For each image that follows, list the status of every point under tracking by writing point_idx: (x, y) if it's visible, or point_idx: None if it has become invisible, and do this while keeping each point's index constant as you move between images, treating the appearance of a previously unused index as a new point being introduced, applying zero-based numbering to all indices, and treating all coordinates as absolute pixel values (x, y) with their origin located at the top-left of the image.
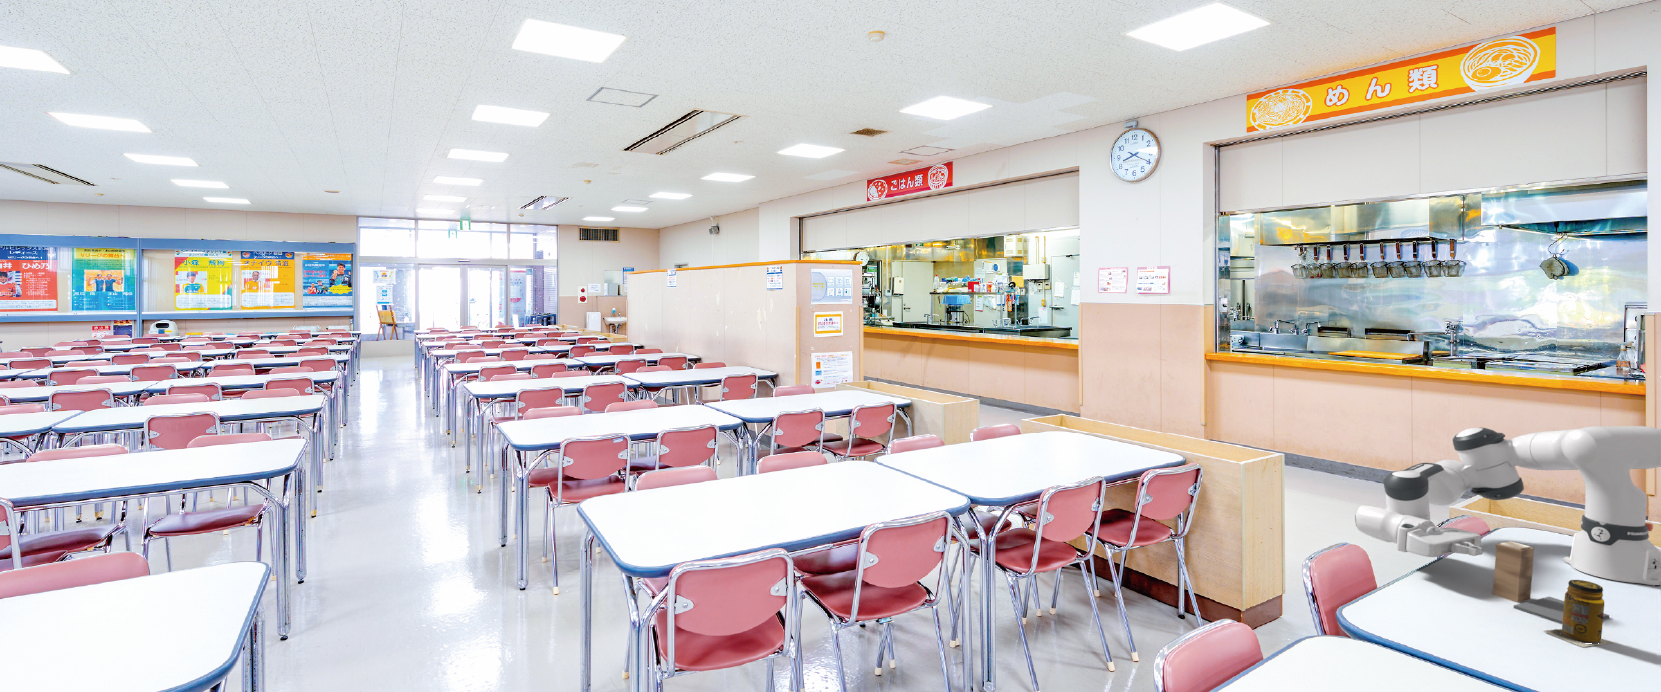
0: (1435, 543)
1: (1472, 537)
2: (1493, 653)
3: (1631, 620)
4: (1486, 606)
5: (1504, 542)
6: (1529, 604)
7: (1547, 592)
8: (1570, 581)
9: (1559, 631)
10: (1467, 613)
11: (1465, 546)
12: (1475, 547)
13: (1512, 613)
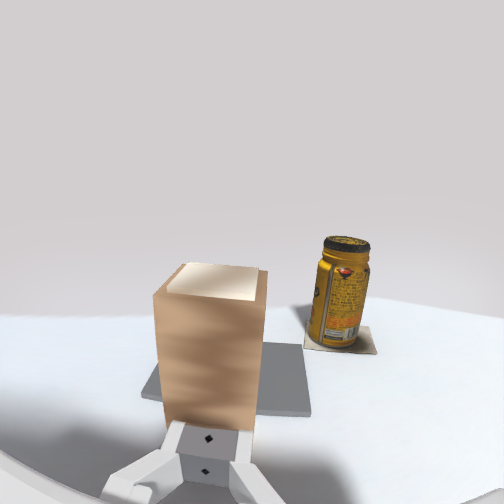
0: (493, 495)
1: (4, 453)
2: (497, 340)
3: None
4: (373, 438)
5: (218, 291)
6: (260, 401)
7: (85, 402)
8: (363, 245)
9: (346, 349)
10: (454, 420)
11: (249, 473)
12: (201, 439)
13: (349, 404)
